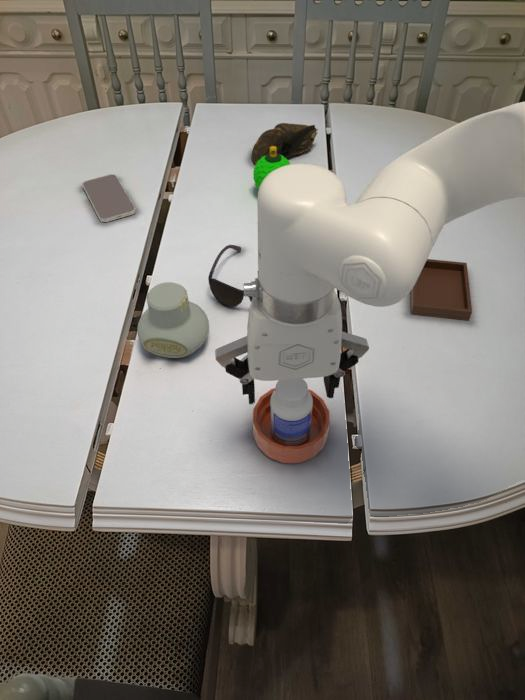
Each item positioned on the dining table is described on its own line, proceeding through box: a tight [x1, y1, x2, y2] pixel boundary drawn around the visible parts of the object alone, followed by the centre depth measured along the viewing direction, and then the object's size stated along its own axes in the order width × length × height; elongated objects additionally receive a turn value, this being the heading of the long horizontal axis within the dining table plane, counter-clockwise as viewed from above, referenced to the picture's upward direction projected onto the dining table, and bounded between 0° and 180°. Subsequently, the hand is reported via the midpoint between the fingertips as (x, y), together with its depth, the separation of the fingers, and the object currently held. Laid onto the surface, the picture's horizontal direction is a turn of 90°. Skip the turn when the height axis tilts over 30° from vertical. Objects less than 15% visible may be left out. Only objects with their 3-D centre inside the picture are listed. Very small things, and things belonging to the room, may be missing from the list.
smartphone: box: [82, 173, 137, 223], centre depth 109 cm, size 7×1×15 cm
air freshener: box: [136, 281, 210, 359], centre depth 80 cm, size 11×8×10 cm
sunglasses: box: [207, 244, 253, 308], centre depth 91 cm, size 14×16×5 cm
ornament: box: [252, 146, 292, 190], centre depth 107 cm, size 8×8×10 cm
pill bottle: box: [270, 378, 313, 446], centre depth 69 cm, size 5×5×10 cm
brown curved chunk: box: [251, 122, 319, 165], centre depth 119 cm, size 16×9×7 cm, turn 122°
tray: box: [410, 258, 473, 322], centre depth 90 cm, size 12×9×2 cm
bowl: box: [252, 387, 331, 464], centre depth 71 cm, size 10×10×4 cm
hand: (289, 391), depth 66 cm, fingers open, 9 cm apart
